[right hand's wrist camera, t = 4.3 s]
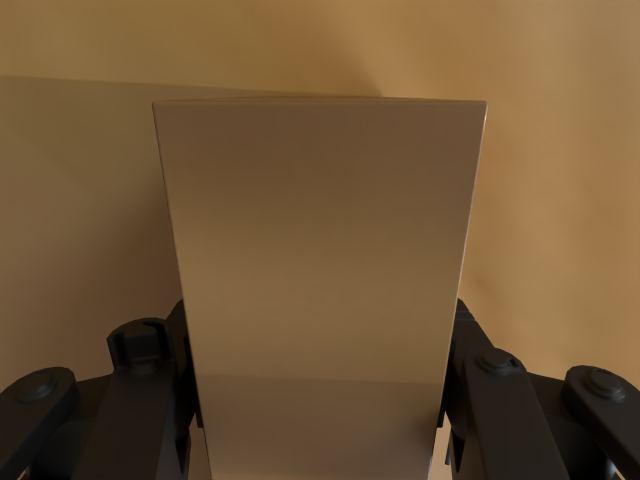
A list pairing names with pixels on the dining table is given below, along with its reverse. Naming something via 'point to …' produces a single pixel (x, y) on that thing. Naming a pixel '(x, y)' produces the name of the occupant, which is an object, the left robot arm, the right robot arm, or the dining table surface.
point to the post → (320, 275)
